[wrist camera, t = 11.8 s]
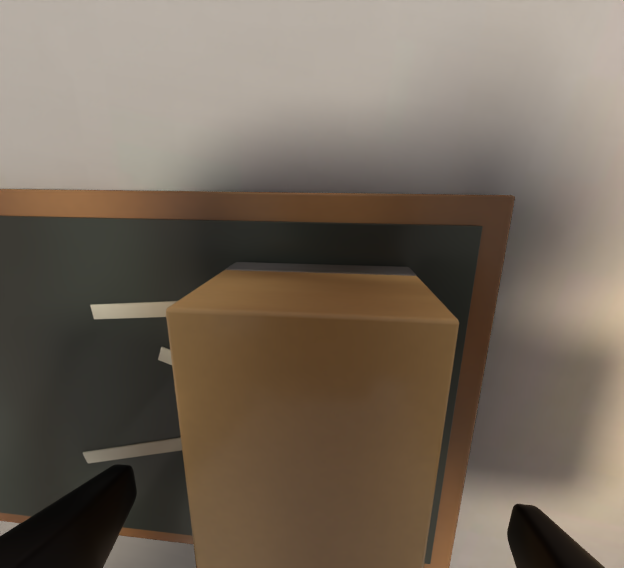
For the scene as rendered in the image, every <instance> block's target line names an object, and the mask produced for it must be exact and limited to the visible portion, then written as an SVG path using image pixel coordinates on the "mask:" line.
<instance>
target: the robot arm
mask: <svg viewBox="0 0 624 568" xmlns="http://www.w3.org/2000/svg"><path fill="white" fill-rule="evenodd" d="M136 495H137V488H136V482H135V476H134V471H133V468H132V467H131V466H130V465H121V464H116V465H113V466H111V467H109V468H108V469H106V470H104V471H103V472H101V473H100V474H98V475H97V476H95V477H93V478H92V479H90V480H89V481H87V482H85V483H84V484H82V485H81V486H79V487H78V488H76V489H74V490H73V491H71V492H70V493H68V494H66V495H65V496H63V497H62V498H60V499H59V500H57V501H55V502H54V503H52V504H51V505H49V506H48V507H46V508H44V509H43V510H41V511H40V512H38V513H36V514H35V515H33V516H32V517H30V518H29V519H27V520H25V521H24V522H22V523H21V524H19V525H17V526H16V527H14V528H13V529H11V530H10V531H8V532H6V533H5V534H3V535H2V536H0V568H103V566H104V564H105V562H106V560H107V558H108V556H109V554H110V552H111V550H112V548H113V546H114V544H115V542H116V539H117V537H118V535H119V533H120V531H121V529H122V527H123V525H124V523H125V521H126V519H127V517H128V515H129V513H130V510H131V508H132V506H133V504H134V502H135V499H136ZM507 535H508V542H509V545H510V549H511V552H512V555H513V558H514V561H515V564H516V567H517V568H605V567H604V566H602V565H601V564H600V563H599V562H598V561H597V560H596V559H595V558H593V557H592V556H591V555H590V554H589V553H588V552H587V551H586V550H585V549H583V548H582V547H581V546H580V545H579V544H578V543H577V542H576V541H574V540H573V539H572V538H571V537H570V536H569V535H568V534H567V533H566V532H564V531H563V530H562V529H561V528H560V527H559V526H558V525H557V524H555V523H554V522H553V521H552V520H551V519H550V518H549V517H548V516H547V515H545V514H544V513H543V512H542V511H541V510H540V509H538V508H537V507H535V506H532V505H524V504H516V505H515V506H514V507H513V510H512V514H511V518H510V522H509V526H508V532H507Z"/></svg>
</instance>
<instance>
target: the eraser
mask: <svg viewBox="0 0 624 568" xmlns="http://www.w3.org/2000/svg"><path fill="white" fill-rule="evenodd" d="M166 318H167V327H168V335H169V343H170V352H171V360H172V368H173V377H174V385H175V393H176V402H177V410H178V418H179V427H180V435H181V443H182V452H183V460H184V468H185V477H186V485H187V493H188V502H189V510H190V518H191V526H192V535H193V543H194V551H195V560H196V568H423V567H424V560H425V554H426V547H427V540H428V533H429V526H430V519H431V513H432V506H433V499H434V492H435V485H436V478H437V471H438V465H439V458H440V451H441V444H442V437H443V430H444V423H445V417H446V410H447V403H448V396H449V389H450V382H451V376H452V369H453V362H454V355H455V348H456V341H457V334H458V328H459V321H458V319H457V318H456V317H455V316H454V315H453V314H452V313H451V312H450V311H449V310H448V309H447V307H446V306H445V305H444V304H443V303H442V302H441V301H440V300H439V299H438V298H437V297H436V296H435V295H434V294H433V293H432V292H431V290H430V289H429V288H428V287H427V286H426V285H425V284H424V283H423V282H422V281H421V280H420V279H419V278H418V277H417V275H416V274H415V273H414V272H413V271H412V270H411V269H410V268H409V267H395V266H360V265H325V264H290V263H255V262H236V263H234V264H232V265H231V266H229V267H228V268H226V269H225V270H224V271H222V272H221V273H219V274H218V275H216V276H215V277H213V278H212V279H210V280H209V281H207V282H206V283H204V284H203V285H201V286H200V287H198V288H197V289H195V290H194V291H192V292H191V293H189V294H188V295H186V296H185V297H183V298H182V299H180V300H179V301H177V302H176V303H174V304H173V305H171V306H169V307H168V308H167V310H166Z"/></svg>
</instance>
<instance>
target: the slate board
mask: <svg viewBox="0 0 624 568" xmlns="http://www.w3.org/2000/svg"><path fill="white" fill-rule="evenodd" d="M514 200H515V196H513V195H453V194H371V193H288V192H206V191H123V190H40V189H0V521H7V522H15V523H22V522H24V521H25V520H27V519H29V518H30V517H32V516H33V515H35V514H36V513H38V512H40V511H41V510H43V509H44V508H46V507H48V506H49V505H51V504H52V503H54V502H55V501H57V500H59V499H60V498H62V497H63V496H65V495H66V494H68V493H70V492H71V491H73V490H74V489H76V488H78V487H79V486H81V485H82V484H84V483H85V482H87V481H89V480H90V479H92V478H93V477H95V476H97V475H98V474H100V473H101V472H103V471H104V470H106V469H108V468H109V467H111V466H113V465H116V464H121V465H130V466H131V467H132V468H133V471H134V476H135V482H136V488H137V495H136V499H135V502H134V504H133V506H132V508H131V510H130V513H129V515H128V517H127V519H126V521H125V523H124V525H123V527H122V529H121V531H120V533H119V535H121V536H129V537H138V538H146V539H154V540H162V541H170V542H179V543H187V544H194V543H193V535H192V526H191V518H190V510H189V502H188V493H187V485H186V477H185V468H184V460H183V452H182V443H181V435H180V427H179V418H178V410H177V402H176V393H175V385H174V377H173V368H172V360H171V352H170V343H169V335H168V327H167V318H166V310H167V308H168V307H169V306H171V305H173V304H174V303H176V302H177V301H179V300H180V299H182V298H183V297H185V296H186V295H188V294H189V293H191V292H192V291H194V290H195V289H197V288H198V287H200V286H201V285H203V284H204V283H206V282H207V281H209V280H210V279H212V278H213V277H215V276H216V275H218V274H219V273H221V272H222V271H224V270H225V269H226V268H228V267H229V266H231V265H232V264H234V263H236V262H255V263H290V264H325V265H360V266H395V267H409V268H410V269H411V270H412V271H413V272H414V273H415V274H416V275H417V277H418V278H419V279H420V280H421V281H422V282H423V283H424V284H425V285H426V286H427V287H428V288H429V289H430V290H431V292H432V293H433V294H434V295H435V296H436V297H437V298H438V299H439V300H440V301H441V302H442V303H443V304H444V305H445V306H446V307H447V309H448V310H449V311H450V312H451V313H452V314H453V315H454V316H455V317H456V318H457V319H458V321H459V328H458V334H457V341H456V348H455V355H454V362H453V369H452V376H451V382H450V389H449V396H448V403H447V410H446V417H445V423H444V430H443V437H442V444H441V451H440V458H439V465H438V471H437V478H436V485H435V492H434V499H433V506H432V513H431V519H430V526H429V533H428V540H427V547H426V554H425V560H424V567H423V568H449V566H450V560H451V555H452V549H453V543H454V538H455V532H456V527H457V521H458V515H459V510H460V504H461V498H462V493H463V487H464V482H465V476H466V470H467V465H468V459H469V453H470V448H471V442H472V437H473V431H474V425H475V420H476V414H477V408H478V403H479V397H480V392H481V386H482V380H483V375H484V369H485V364H486V358H487V352H488V347H489V341H490V335H491V330H492V324H493V319H494V313H495V307H496V302H497V296H498V290H499V285H500V279H501V274H502V268H503V262H504V257H505V251H506V245H507V240H508V234H509V229H510V223H511V217H512V212H513V206H514Z"/></svg>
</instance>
